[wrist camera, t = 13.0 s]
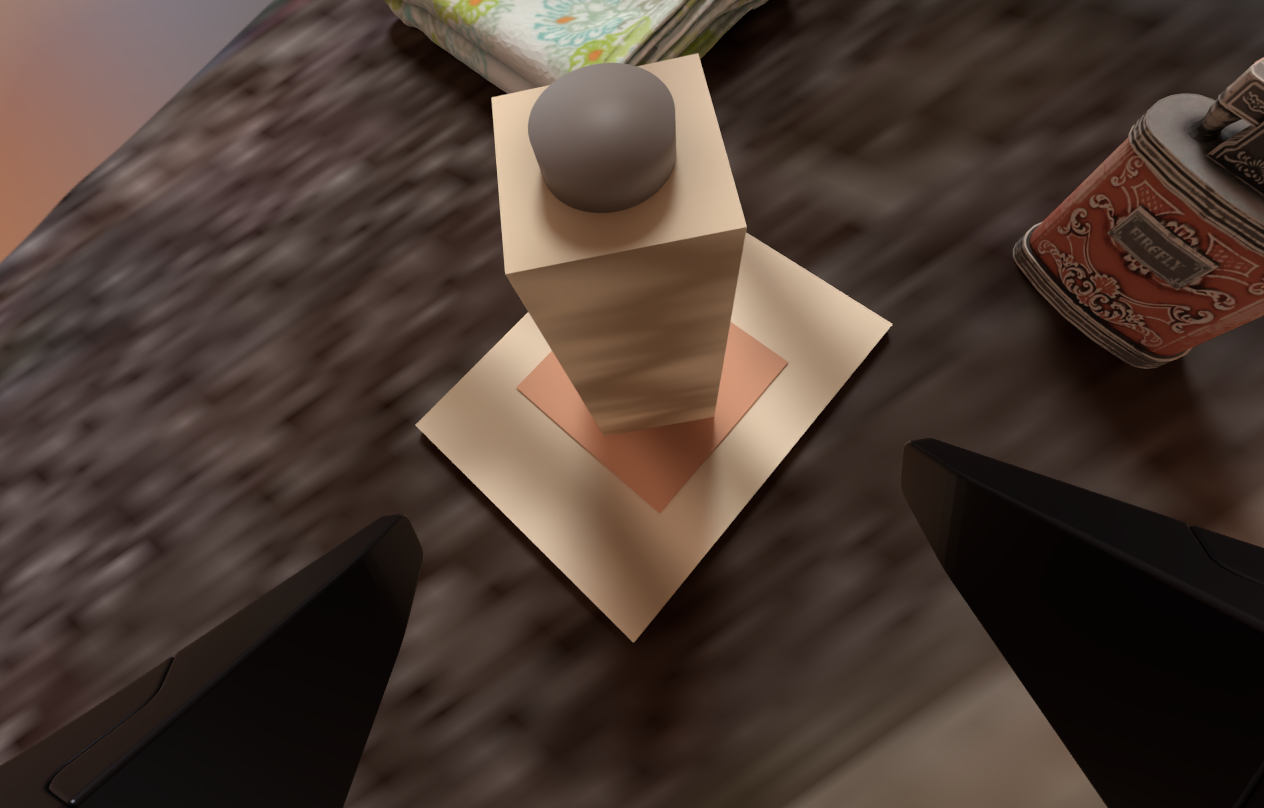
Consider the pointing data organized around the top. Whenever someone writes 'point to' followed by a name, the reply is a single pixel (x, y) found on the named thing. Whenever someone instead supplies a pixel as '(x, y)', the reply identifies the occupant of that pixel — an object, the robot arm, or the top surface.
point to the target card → (652, 439)
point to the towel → (567, 33)
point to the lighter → (1163, 230)
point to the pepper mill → (624, 235)
